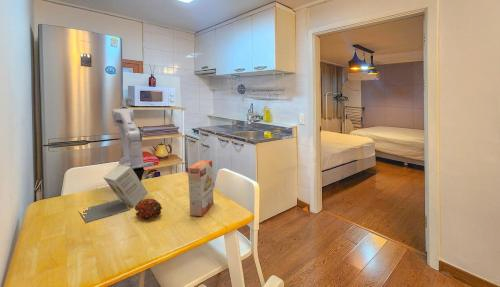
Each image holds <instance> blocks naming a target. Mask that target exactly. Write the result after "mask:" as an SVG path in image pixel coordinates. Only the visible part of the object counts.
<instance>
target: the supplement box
mask: <svg viewBox="0 0 500 287" xmlns="http://www.w3.org/2000/svg"><path fill="white" fill-rule="evenodd" d="M103 179H104V181H105V182H106V184H107V185H108V186H109V187H110V189H111V190H112V191H113V192H114V193H115V195H116V196H117V198H118V200H120V201H121V202H123V203H124V204H125V205H127V206H131V207H134V208H135V207H136V206H137V205H139V204H140V203H141V201H143V199H144V198H145V197H146V196H147V195H148V194H149V191H148V190H147V189H146V187H145V186H144V184H143V183H142V180H141V181H140V180H139V178H138V177H137V175H136V174H135V172H134V171H133V169H132V168H131V167H129V166H123V165H120V164H119V163H118V164H117V165H116V166H115V167H114V168H113V169H111V170H110V171H109V172H108V173H106V174H105V175H104V176H103Z"/></svg>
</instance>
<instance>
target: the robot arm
mask: <svg viewBox="0 0 500 287" xmlns="http://www.w3.org/2000/svg"><path fill="white" fill-rule="evenodd" d="M111 115H112V123H113V124H114V126H115V127H117V128H118V130H119V135H120V141H121V146H122V152H123V153H122V154H123V157H121V158H120V159H119V161H118V165H119V164H120V165H123V166H129V167H131V168H132V169H133V171H134V172H135V174H136V175H137V177H138V178H139V180H140V181H141V182H142V178H143V174H144V172H145V168H148V167H154V162H153V161H149V162H146V161H145V162H144V158H143V157H144V156H143V148H142V141H143V135H142V131H141V129H139V128H138V126H137V124H136V123H135V121H134V118H135V112H134V109H133V108H132V107H131V108H112V110H111Z"/></svg>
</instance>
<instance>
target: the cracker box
mask: <svg viewBox="0 0 500 287" xmlns="http://www.w3.org/2000/svg"><path fill="white" fill-rule="evenodd" d="M187 177H188V180H187V181H188V194H189V195H188V197H189V211H190V212H189V213H190V216H192V217H203V216H205V214H206V213H207V212H208V211H209V209H210V208H211V207H212V206H213V205H214V182H213V181H214V180H213V179H214V178H213V160H210V159H209V160H208V159H200V160H198V161H197V162H196V163H193V164H192V165H190V166H189V167H188V168H187Z"/></svg>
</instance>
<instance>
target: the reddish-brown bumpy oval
mask: <svg viewBox="0 0 500 287" xmlns="http://www.w3.org/2000/svg"><path fill="white" fill-rule="evenodd" d="M143 199H144V198H143ZM162 209H163V207H162V204H161V203H160V202H159V201H157V200H156V199H154V198H145V199H144V200H142V202H139V203H138V204H137V205H136V206H135V207H134V211H136V212H135V215H136V217H139V216H140V217H141V216H142V218H143V220H146V219H148V218H149V219H154V218H156V216H160V215H161V214H162V211H161V210H162Z"/></svg>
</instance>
